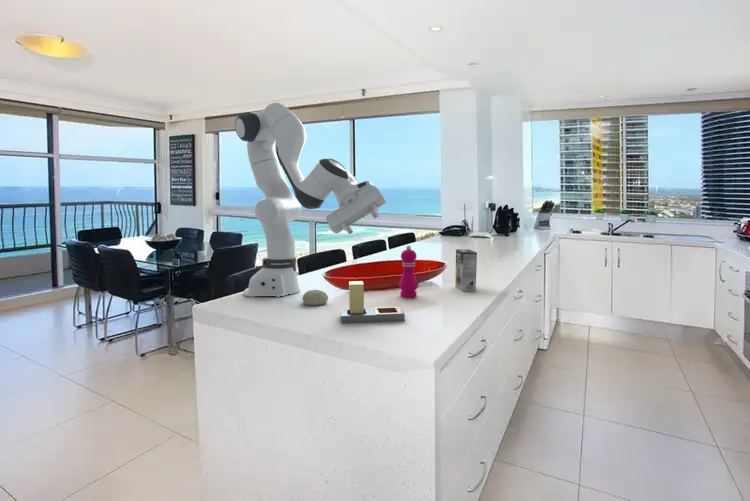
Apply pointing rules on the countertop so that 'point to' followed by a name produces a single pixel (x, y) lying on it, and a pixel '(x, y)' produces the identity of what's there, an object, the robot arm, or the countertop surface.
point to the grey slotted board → (374, 315)
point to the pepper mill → (408, 274)
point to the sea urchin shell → (315, 297)
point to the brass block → (356, 298)
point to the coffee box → (466, 269)
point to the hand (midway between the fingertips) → (363, 224)
